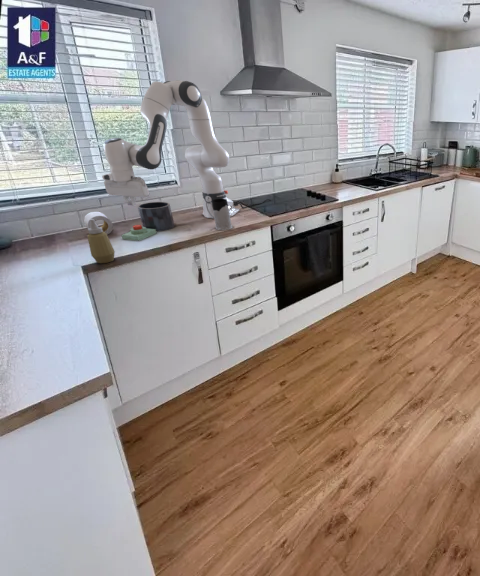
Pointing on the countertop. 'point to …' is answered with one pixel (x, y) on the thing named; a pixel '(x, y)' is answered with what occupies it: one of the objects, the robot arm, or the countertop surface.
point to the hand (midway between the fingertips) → (131, 205)
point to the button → (137, 227)
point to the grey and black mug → (221, 214)
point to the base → (138, 234)
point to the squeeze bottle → (99, 244)
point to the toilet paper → (96, 216)
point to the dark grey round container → (156, 215)
